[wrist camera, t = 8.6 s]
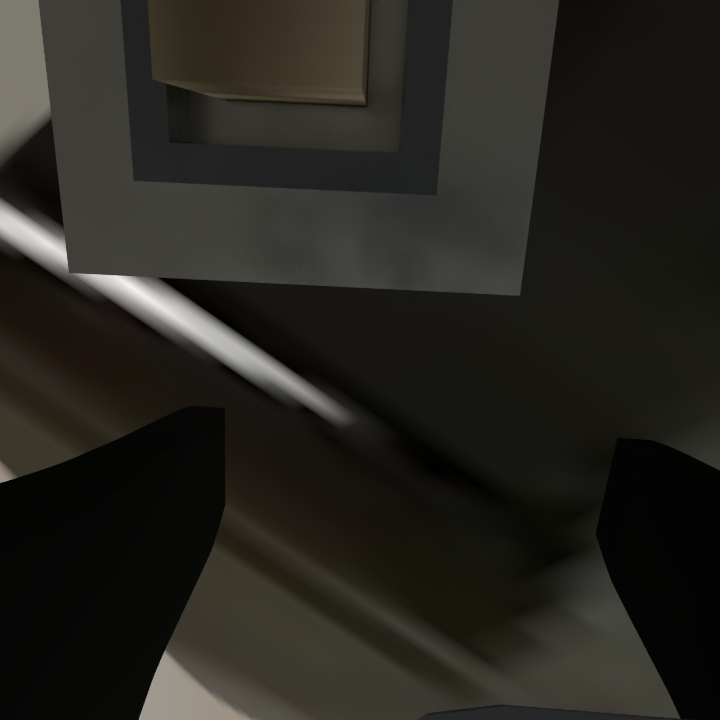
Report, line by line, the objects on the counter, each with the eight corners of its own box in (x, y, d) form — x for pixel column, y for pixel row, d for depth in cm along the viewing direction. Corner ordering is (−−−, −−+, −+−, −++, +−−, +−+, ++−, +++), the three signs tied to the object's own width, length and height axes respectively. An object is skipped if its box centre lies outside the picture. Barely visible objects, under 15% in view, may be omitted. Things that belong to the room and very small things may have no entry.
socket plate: (589, -274, 15) (630, -356, 13) (515, 291, 20) (535, 312, 17) (17, -296, 15) (-52, -381, 13) (77, 269, 20) (35, 286, 17)
